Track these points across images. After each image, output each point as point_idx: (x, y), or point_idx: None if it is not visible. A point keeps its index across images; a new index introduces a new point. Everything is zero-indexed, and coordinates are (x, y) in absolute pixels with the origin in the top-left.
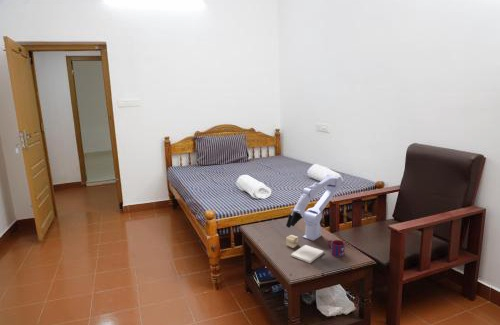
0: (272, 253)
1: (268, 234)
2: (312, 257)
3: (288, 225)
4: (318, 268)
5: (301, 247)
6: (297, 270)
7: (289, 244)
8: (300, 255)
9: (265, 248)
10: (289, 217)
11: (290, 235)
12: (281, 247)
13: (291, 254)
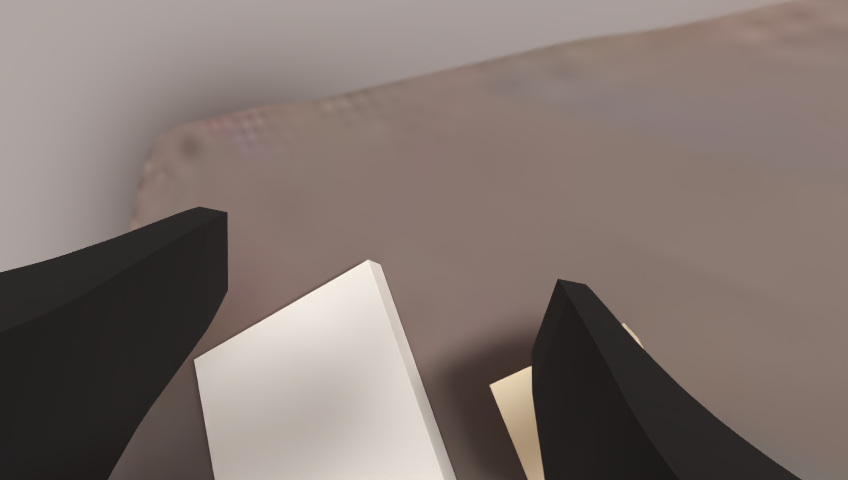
0: (517, 107)
1: None
2: (221, 425)
3: (549, 341)
4: None
5: (435, 463)
6: None
7: None
8: (302, 337)
9: (670, 60)
10: (643, 464)
11: None
12: (608, 254)
13: (364, 263)
